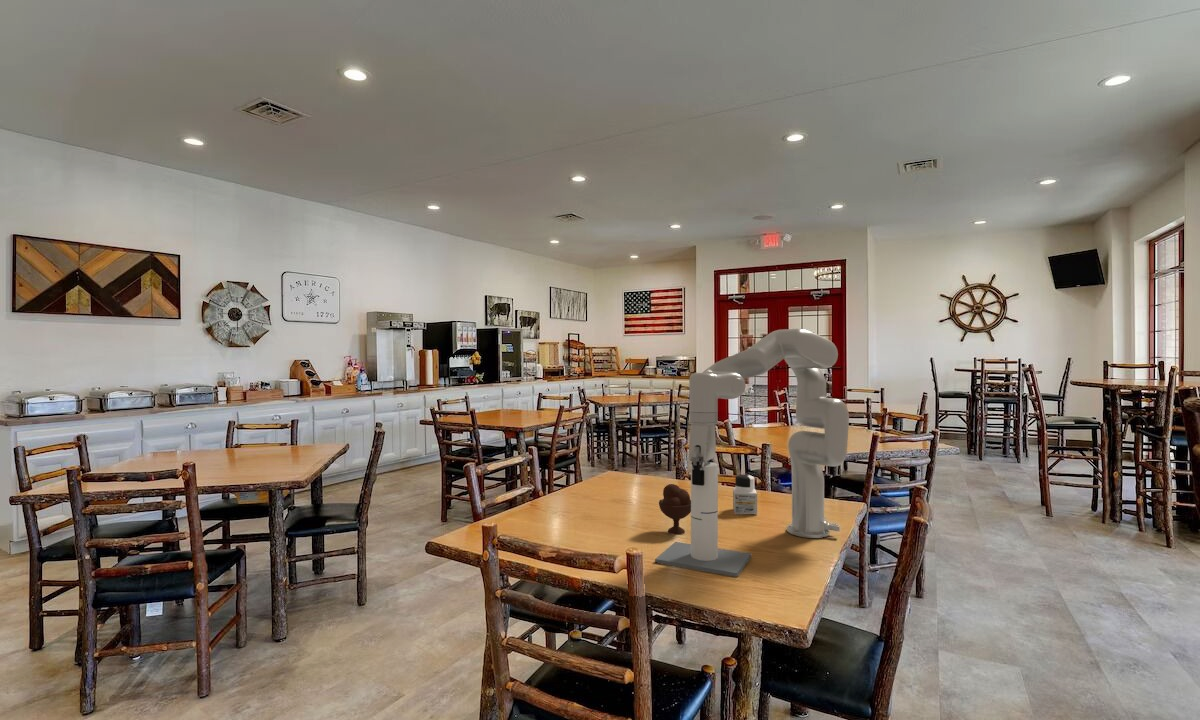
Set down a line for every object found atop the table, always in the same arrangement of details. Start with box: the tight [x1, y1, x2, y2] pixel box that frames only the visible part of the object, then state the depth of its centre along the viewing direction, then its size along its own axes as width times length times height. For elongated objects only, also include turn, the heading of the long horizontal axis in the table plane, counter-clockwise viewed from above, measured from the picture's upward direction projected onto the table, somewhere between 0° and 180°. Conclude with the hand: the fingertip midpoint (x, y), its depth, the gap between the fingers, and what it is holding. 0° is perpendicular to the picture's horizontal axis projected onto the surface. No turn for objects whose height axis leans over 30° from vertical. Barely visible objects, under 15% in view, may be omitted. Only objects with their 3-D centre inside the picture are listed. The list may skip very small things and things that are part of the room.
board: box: [654, 541, 752, 578], centre depth 153 cm, size 22×16×1 cm
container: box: [732, 474, 758, 515], centre depth 200 cm, size 8×8×13 cm
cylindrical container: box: [690, 462, 719, 561], centre depth 153 cm, size 7×7×25 cm
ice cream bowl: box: [658, 483, 691, 536], centre depth 177 cm, size 11×11×15 cm
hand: (703, 481), depth 153 cm, fingers open, 9 cm apart
